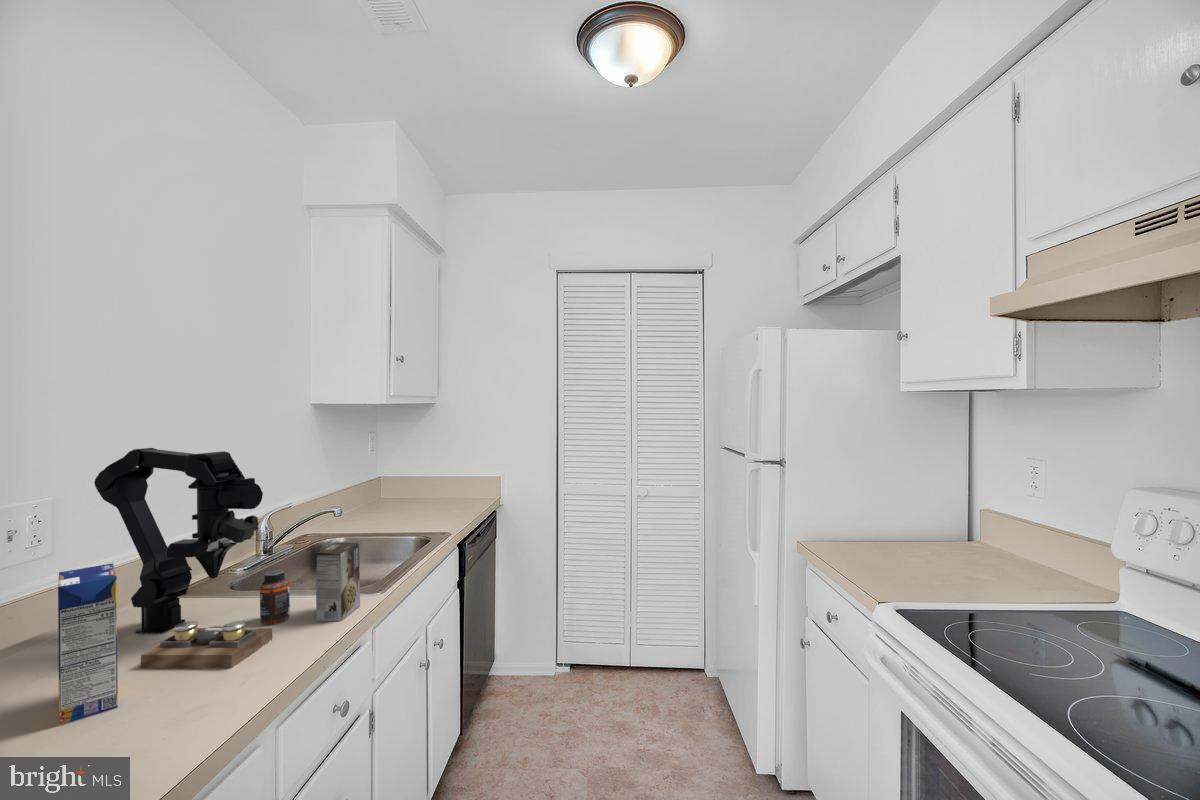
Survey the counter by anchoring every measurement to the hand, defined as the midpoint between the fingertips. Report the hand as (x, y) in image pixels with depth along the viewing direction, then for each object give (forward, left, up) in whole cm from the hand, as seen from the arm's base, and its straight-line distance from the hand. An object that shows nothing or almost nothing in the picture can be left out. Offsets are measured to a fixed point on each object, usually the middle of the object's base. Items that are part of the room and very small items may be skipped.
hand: (213, 577), depth 117 cm
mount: (+7, -10, -12) cm, 17 cm away
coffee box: (+23, +10, -12) cm, 28 cm away
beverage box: (0, -28, -12) cm, 31 cm away
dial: (+7, -10, -9) cm, 15 cm away
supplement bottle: (+10, +6, -12) cm, 17 cm away
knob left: (+2, -10, -12) cm, 16 cm away
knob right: (+12, -10, -12) cm, 20 cm away
